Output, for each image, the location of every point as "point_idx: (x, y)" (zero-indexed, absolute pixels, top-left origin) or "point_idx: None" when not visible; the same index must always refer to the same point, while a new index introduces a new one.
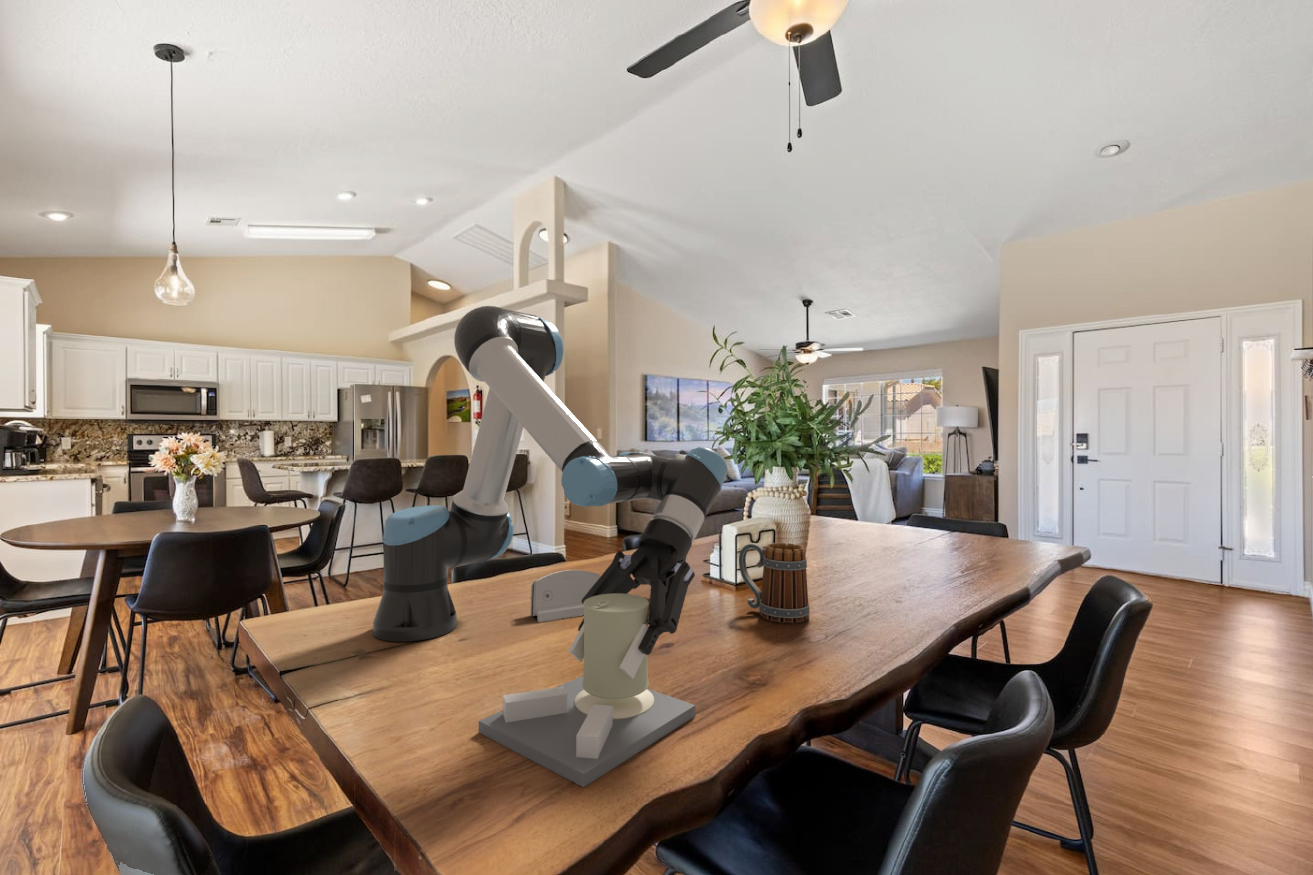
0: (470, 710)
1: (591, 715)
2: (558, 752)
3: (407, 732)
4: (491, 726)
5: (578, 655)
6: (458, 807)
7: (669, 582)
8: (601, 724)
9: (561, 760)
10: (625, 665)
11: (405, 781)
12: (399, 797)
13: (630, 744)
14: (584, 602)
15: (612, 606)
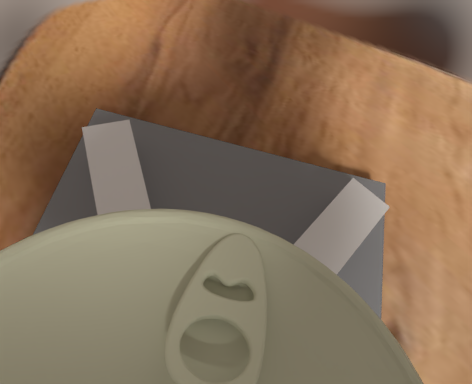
0: (463, 257)
1: (138, 201)
2: (173, 146)
3: (467, 151)
4: (347, 174)
5: None
6: (241, 44)
7: None
8: (95, 172)
9: (154, 128)
10: None
11: (345, 62)
12: (321, 39)
13: (40, 221)
14: (394, 347)
15: (132, 379)
